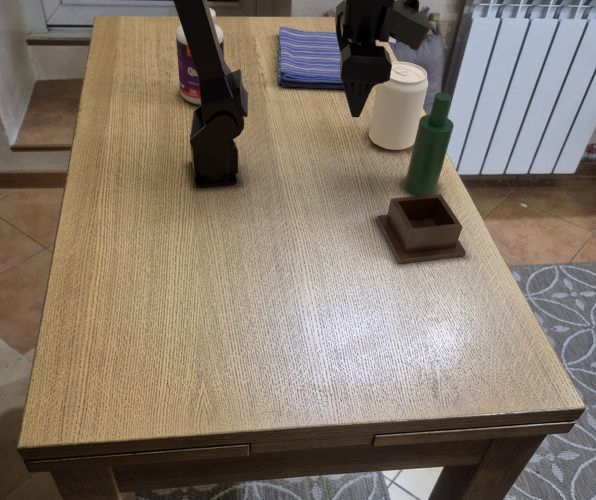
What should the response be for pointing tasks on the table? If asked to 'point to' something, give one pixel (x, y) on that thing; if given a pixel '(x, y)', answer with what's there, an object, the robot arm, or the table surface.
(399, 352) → the table surface
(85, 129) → the table surface
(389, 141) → the beverage can
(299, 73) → the dish towel
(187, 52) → the pill bottle
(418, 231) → the holder
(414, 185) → the bottle
